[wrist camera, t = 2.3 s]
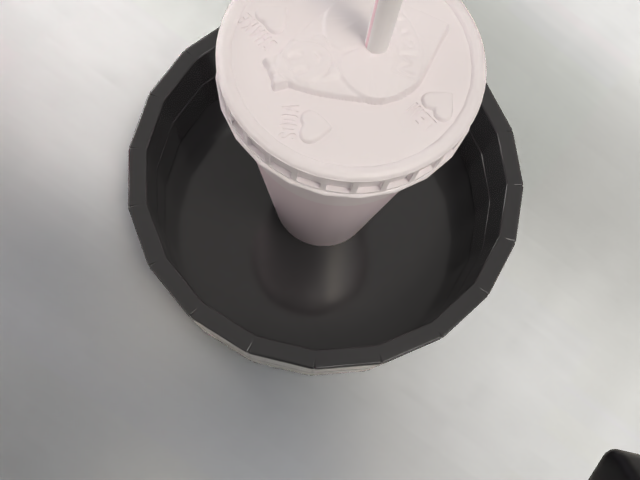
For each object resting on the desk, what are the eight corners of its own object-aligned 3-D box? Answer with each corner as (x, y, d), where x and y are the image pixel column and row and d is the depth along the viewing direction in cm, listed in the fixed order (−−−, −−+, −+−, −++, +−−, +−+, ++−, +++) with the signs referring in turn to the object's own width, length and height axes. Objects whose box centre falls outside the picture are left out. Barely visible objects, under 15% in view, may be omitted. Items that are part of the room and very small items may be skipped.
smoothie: (427, 251, 22) (659, 6, 9) (268, 303, 21) (250, 118, 8) (369, 109, 24) (490, -285, 10) (219, 151, 23) (133, -225, 9)
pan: (543, 294, 22) (592, 273, 19) (221, 434, 20) (209, 439, 16) (400, 22, 25) (420, -40, 22) (108, 116, 23) (77, 64, 20)
